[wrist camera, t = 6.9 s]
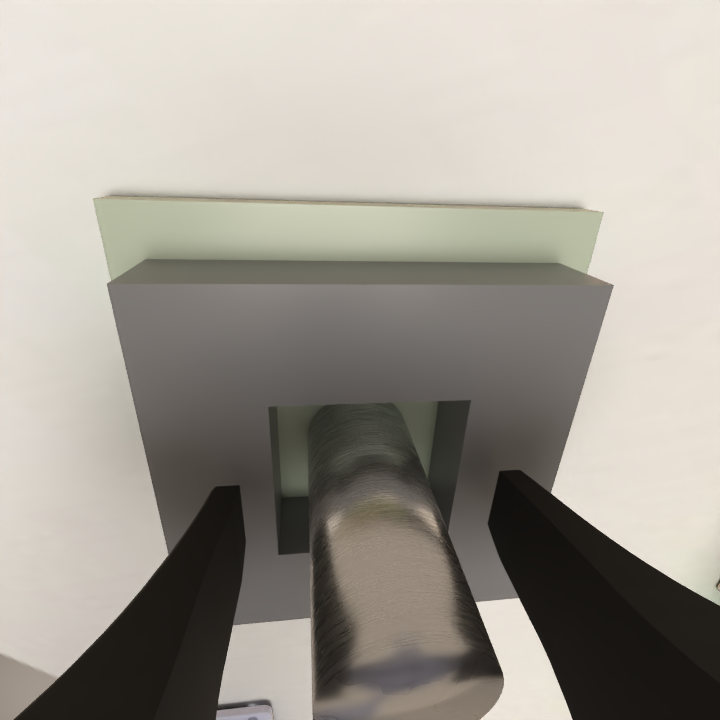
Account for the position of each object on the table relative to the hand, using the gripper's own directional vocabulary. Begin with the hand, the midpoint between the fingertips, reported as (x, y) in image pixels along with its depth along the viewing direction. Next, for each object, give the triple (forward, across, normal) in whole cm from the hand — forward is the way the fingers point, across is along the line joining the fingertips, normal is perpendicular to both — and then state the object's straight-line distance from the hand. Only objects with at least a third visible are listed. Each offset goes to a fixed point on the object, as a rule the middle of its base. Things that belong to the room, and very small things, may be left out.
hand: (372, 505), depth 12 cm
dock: (+4, 0, 0) cm, 4 cm away
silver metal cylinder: (+3, 0, 0) cm, 3 cm away
